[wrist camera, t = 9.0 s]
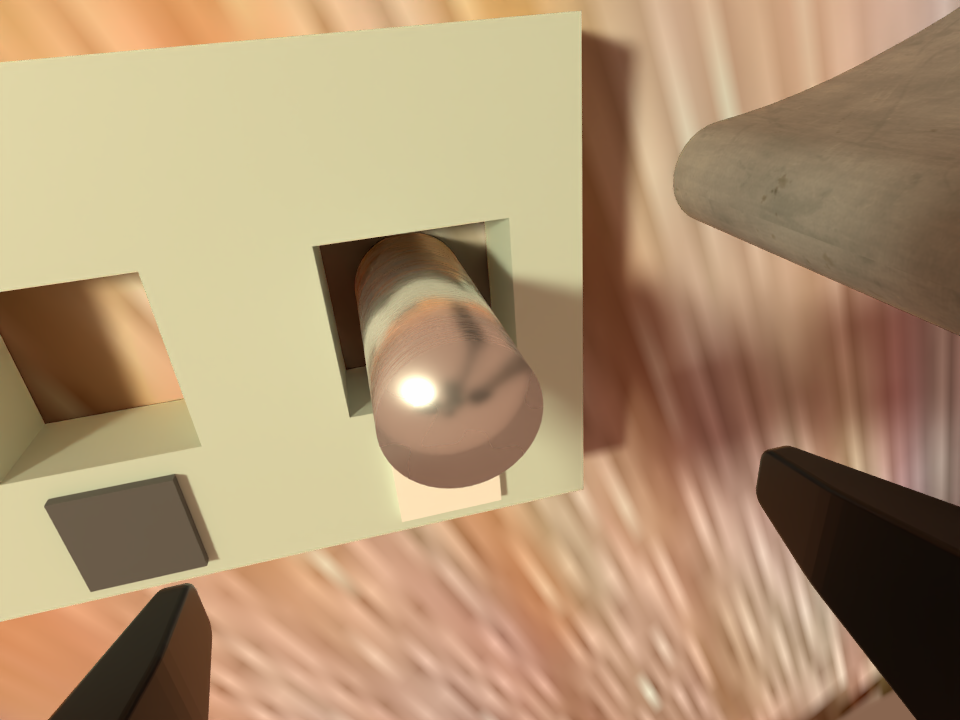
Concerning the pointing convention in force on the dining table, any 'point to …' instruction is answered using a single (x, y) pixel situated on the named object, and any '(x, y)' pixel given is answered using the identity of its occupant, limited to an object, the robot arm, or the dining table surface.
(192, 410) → the socket block
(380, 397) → the plug
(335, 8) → the dining table surface
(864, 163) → the grey upright panel
